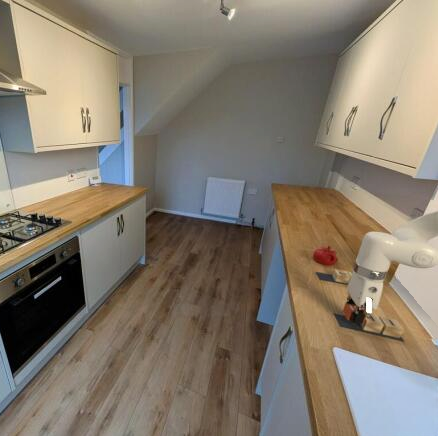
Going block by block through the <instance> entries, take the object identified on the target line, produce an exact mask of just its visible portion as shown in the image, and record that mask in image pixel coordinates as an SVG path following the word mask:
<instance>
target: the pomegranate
mask: <svg viewBox="0 0 438 436" xmlns="http://www.w3.org/2000/svg"><path fill="white" fill-rule="evenodd" d="M332 249H333V247H331V245H327V247H325V245H322V246H320V247H318V248H315V250H314V251H313V254H312V257H313V259H314V260H315V262H316V263H318V264H320V265H323V266H328V267H331V266H334V265H335V264H336V263H337V262H338V260H339V259H338V257H337V251H336V250H332Z"/></svg>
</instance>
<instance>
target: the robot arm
mask: <svg viewBox="0 0 438 436" xmlns="http://www.w3.org/2000/svg"><path fill="white" fill-rule="evenodd" d="M436 237H438V210H436V211H433V212H429V213H425V214H423V215H421V216H418V217H415V218H414V219H411V220H410V221H408V222H406V223H405V224H403V225H401V226H399V227H398V228H397V229H395V230H394V231H392V233H387V232H383V231H369V232H366V233H365V234H364V236H363V237H362V242H361V245H360V247H359V250H358V253H357V256H356V259H355V263H354V265H353V268H352V272H353V273H352V275H351V278H350V280H349V283H348V285H346V286H347V287H346V291H347V294H348V295H347V298H346V302H345V303H348V304H353V305H356V307H355V311H353V312H352V315H351V318H350V322H353V323H358V324H362V323H363V321H364V318H365V316H367V315H373V313H372V310H373V311H376V310H377V309H378V307H379V304H380V301H381V299H382V298H381V297H382V293H383V288H384V281H385V279H386V277H387V275H388V272H389V269H390V267H391V265H392V263H393V262H394V263H397V264H400V265H404V266H408V267H411V268H416V269H430V268H433V267H435V266H438V249H437V248H436V247H435V246H434V245H433V244H431V243H430V242H428V241H430V240H432V239H434V238H436ZM360 307H362V308H363V310H359V308H360Z"/></svg>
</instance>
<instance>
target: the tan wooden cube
mask: <svg viewBox="0 0 438 436" xmlns="http://www.w3.org/2000/svg"><path fill="white" fill-rule="evenodd" d="M360 325H361V327H362V328H363V330H367V331H371V332H375V333H380V332H381V330H382V328H383V326H384V325H383V323H382V322H381V320H380V319H379V316H378V315H376V314H371V315H367V316H366V318H365V321H364V323H362V324H360Z"/></svg>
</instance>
